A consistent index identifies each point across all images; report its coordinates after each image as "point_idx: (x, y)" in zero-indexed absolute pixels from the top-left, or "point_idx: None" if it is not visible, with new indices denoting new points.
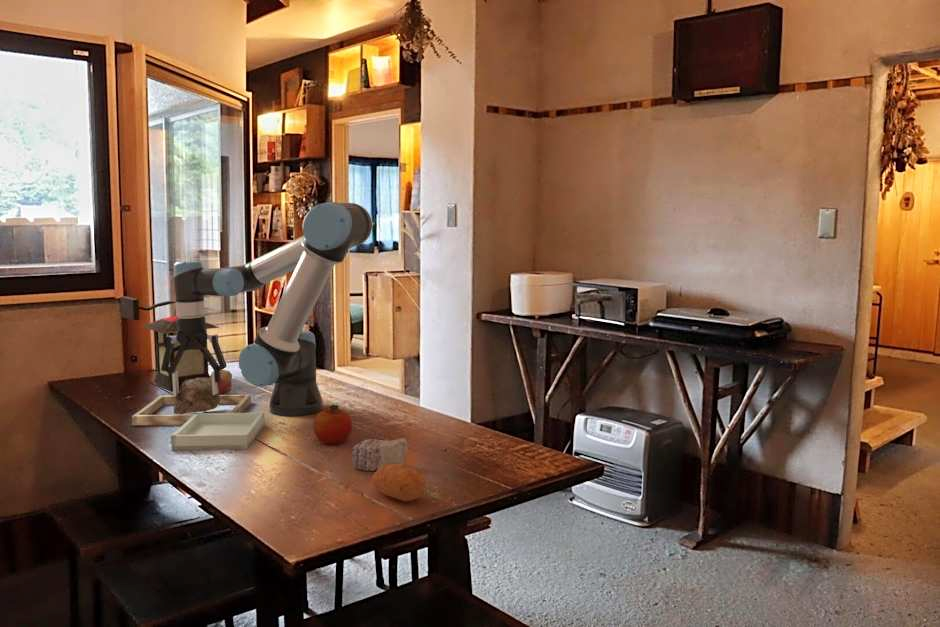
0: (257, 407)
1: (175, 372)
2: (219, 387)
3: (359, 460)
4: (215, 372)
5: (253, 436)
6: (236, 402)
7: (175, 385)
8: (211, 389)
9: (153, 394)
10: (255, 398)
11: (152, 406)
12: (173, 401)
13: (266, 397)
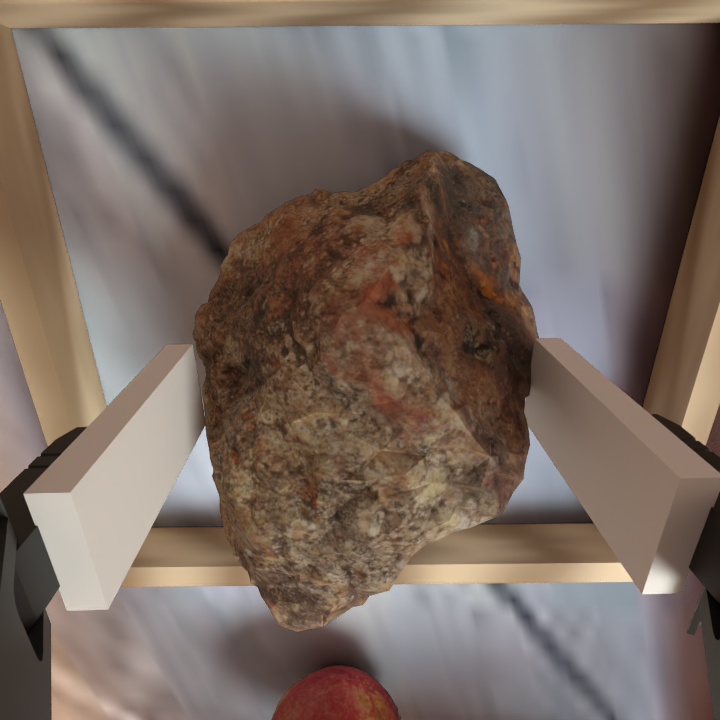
0: (28, 454)
1: (671, 541)
2: (326, 690)
3: None
4: (28, 516)
5: None
6: (188, 532)
7: (584, 386)
8: (223, 432)
9: (683, 692)
10: (135, 620)
11: (687, 367)
12: (561, 538)
13: (85, 634)
